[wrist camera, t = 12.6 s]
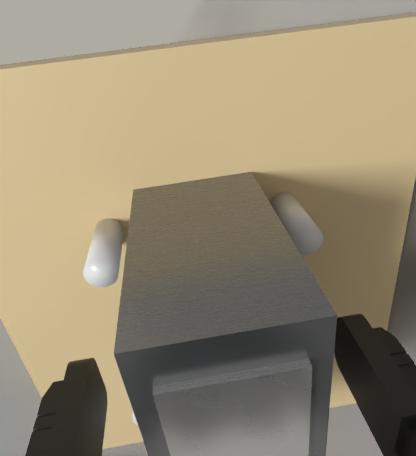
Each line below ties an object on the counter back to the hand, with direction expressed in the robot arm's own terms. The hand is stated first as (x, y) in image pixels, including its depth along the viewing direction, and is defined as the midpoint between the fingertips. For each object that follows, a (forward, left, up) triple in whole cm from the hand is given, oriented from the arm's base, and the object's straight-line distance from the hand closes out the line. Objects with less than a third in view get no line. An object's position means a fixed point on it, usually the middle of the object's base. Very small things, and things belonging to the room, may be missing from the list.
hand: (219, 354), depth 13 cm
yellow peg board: (0, 0, -5) cm, 5 cm away
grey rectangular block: (0, 0, -3) cm, 3 cm away
